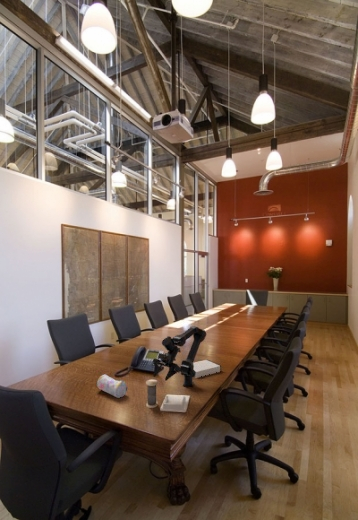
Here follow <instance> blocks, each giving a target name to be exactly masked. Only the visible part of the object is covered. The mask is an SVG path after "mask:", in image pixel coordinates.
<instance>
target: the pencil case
mask: <svg viewBox="0 0 358 520" xmlns="http://www.w3.org/2000/svg"><path fill="white" fill-rule="evenodd" d="M96 387H97V388H98V389H99V390H101V391H103V392H105V393H106V394H108V395H111V396H113V397H115V398H118V399H120V397H121V398H122V397H124V396H125V395H126V393H127V391H128V386H127V384H126V382H125V381H124V380H122V379H121V380H116V379H114V378H113V377H111V376H109V375H107V374H103V375H100V376H99V377H98V379H97V383H96Z"/></svg>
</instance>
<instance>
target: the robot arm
mask: <svg viewBox="0 0 358 520" xmlns="http://www.w3.org/2000/svg"><path fill="white" fill-rule="evenodd" d="M192 336H193V342H192V344H191V346H190V349H189V352H188V355H187V356H186V359H185V360H184V359H183V360H181V364H180V365H179V364H177V363H175V361H177V359H176V357H177V355H178V353H181V352H182V351H181V348H182V347H183V346H184V345H185V344H186V343H187V340H188V339H190V338H191V337H192ZM206 336H207V332H206V330H204V329H201V328H199V327H198V326H195V325H194V326H193V325H191V326H190V327H189V328H188V329H187V330H185V331H184V332H182V333H181V334H177V335H175V336H173V337H171V336H170V335H167V337H165V338H163V340H162V341H161V345H162V346H163V347H164V348H165V350H167V352H166V353H160V352H158V356H157V358H153V359H152V361H151V363H152V364H153V365H154V370H153V377H154V378H155V377H157V375H158V373H159V372H160V371H161V370H162V367H166V368H168V371H167V374H166V375H165V378H164V381H168V380H170V379H171V377H173V376H174V375H176V374H178V373H179V374H181V376H183V383H182V387H194V384H195V383H194V380H193V379H194V378H196V377H195V375H196V372H195V371H194V365H193V363H194V361H195V359H196V356H197V353H198V350H199V347H200V345H201V344H202V342H204V341H205V338H206ZM180 347H181V348H180Z"/></svg>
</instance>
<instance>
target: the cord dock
mask: <svg viewBox="0 0 358 520" xmlns="http://www.w3.org/2000/svg"><path fill="white" fill-rule="evenodd" d="M190 397H191V396H190V395H187V394H185V395H181V394H180V395H179V394H166V395H165V397H164V399H163V402H162V404H161V405H160V408H159V409H160V412H175V413H176V412H178V413H186V412H187V409H188V405H189V402H190Z"/></svg>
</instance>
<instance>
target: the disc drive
mask: <svg viewBox="0 0 358 520" xmlns="http://www.w3.org/2000/svg"><path fill="white" fill-rule="evenodd" d="M193 365H194V371H195V372H196V375H195V377H194V378H195V379H198V378H202V377H206V376H210V375H213V374H217V373H221V372H222V365H220V364H218V363H217V362H214V361H212V360H210V359H204V360H199V361H195V362H194V361H193ZM220 371H221V372H220ZM216 372H217V373H216ZM209 374H210V375H209ZM205 375H206V376H205ZM201 376H202V377H201Z"/></svg>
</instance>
